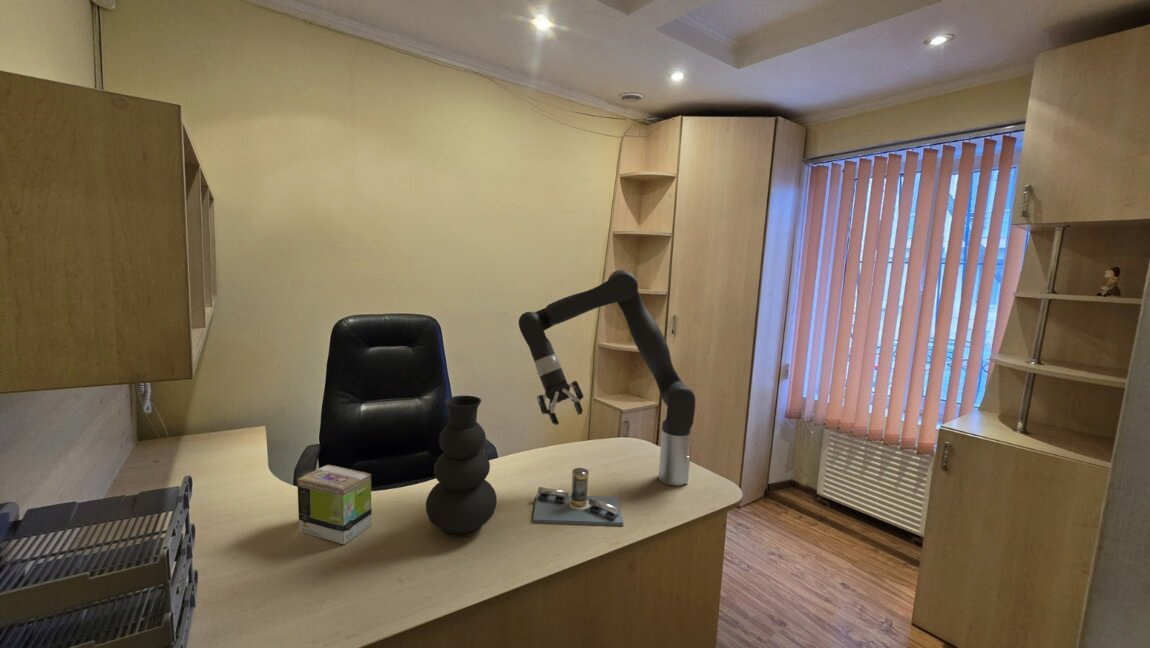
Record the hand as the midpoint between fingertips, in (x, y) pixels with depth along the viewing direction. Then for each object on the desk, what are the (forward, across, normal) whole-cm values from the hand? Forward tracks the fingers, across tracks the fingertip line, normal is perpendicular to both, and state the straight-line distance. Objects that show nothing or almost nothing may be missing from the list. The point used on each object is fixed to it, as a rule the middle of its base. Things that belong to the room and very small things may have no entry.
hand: (568, 419), depth 147 cm
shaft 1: (+21, -14, +2) cm, 25 cm away
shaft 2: (+28, -5, -9) cm, 30 cm away
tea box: (+2, -69, +7) cm, 70 cm away
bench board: (+25, -10, -4) cm, 27 cm away
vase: (+14, -41, -2) cm, 43 cm away
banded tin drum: (+23, -8, -3) cm, 25 cm away
